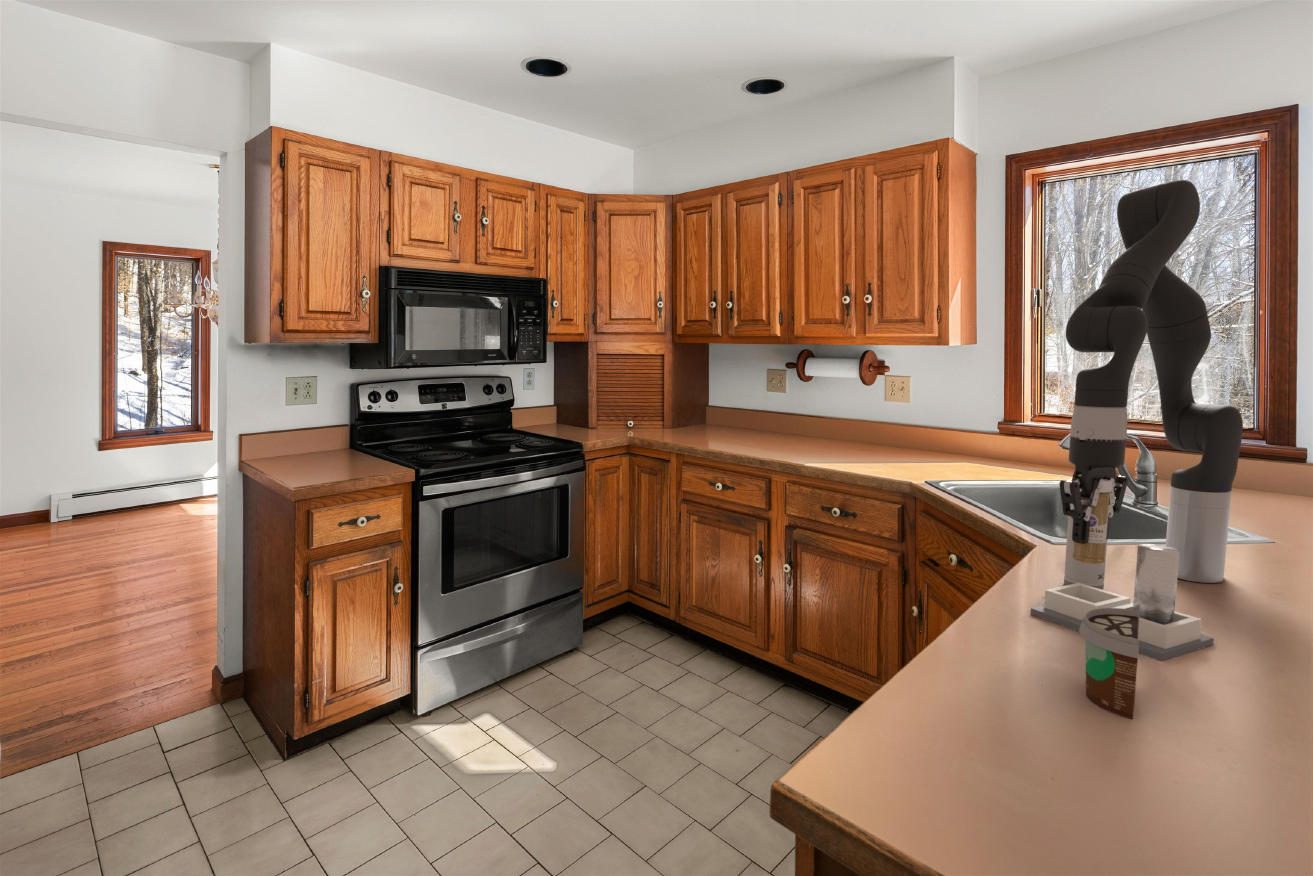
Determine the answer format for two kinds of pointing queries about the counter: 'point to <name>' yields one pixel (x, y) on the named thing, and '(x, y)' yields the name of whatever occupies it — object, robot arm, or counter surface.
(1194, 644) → the grey and white holder
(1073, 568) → the travel mug
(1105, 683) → the food container
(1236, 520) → the counter surface
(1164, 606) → the cylinder
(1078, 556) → the sprinkles bottle
